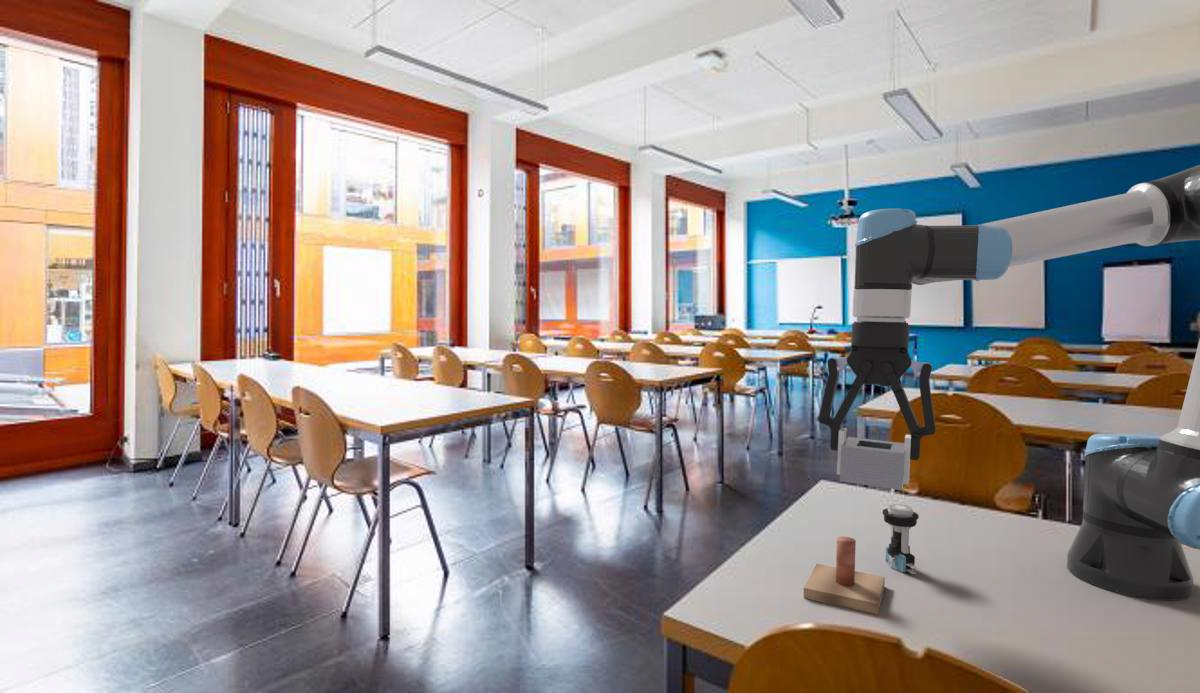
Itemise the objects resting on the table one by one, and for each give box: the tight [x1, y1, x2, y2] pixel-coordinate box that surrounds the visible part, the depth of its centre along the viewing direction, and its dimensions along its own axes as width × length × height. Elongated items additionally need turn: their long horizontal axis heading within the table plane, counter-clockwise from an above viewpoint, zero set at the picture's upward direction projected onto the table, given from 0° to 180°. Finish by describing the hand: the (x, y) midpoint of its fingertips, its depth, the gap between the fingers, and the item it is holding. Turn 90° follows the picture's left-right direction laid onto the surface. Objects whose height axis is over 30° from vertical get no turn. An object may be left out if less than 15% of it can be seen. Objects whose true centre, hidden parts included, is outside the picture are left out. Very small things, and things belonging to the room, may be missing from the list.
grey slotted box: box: [839, 436, 905, 491], centre depth 90 cm, size 8×8×5 cm
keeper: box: [803, 536, 886, 615], centre depth 93 cm, size 10×10×8 cm
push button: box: [882, 503, 920, 575], centre depth 102 cm, size 7×5×10 cm
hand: (872, 476), depth 90 cm, fingers closed on grey slotted box, 8 cm apart
